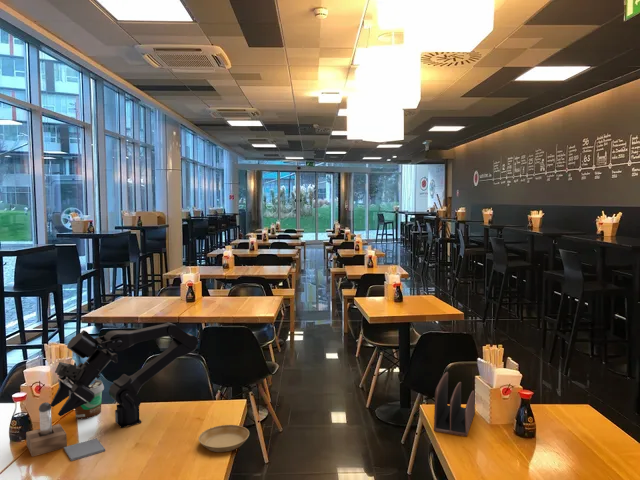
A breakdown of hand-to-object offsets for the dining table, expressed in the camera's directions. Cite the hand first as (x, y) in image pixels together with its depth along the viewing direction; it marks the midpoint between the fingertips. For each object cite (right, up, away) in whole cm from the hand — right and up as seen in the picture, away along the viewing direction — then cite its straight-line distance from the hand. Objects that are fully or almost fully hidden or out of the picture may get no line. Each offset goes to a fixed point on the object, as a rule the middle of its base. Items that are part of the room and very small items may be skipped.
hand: (55, 410), depth 147 cm
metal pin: (-2, -10, -1) cm, 10 cm away
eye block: (-2, -10, -1) cm, 10 cm away
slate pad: (+11, -10, -4) cm, 15 cm away
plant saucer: (+51, -10, -1) cm, 52 cm away
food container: (+1, -9, +22) cm, 24 cm away
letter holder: (+123, -8, +13) cm, 124 cm away
